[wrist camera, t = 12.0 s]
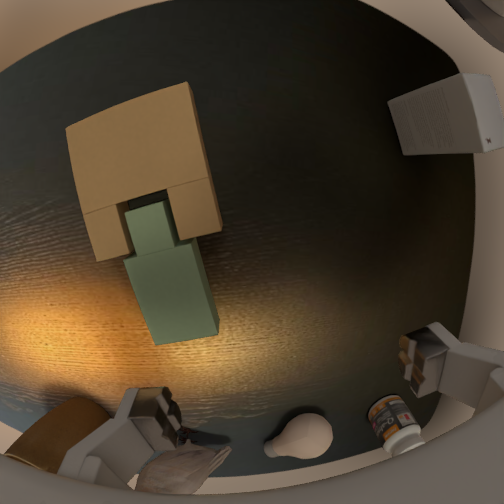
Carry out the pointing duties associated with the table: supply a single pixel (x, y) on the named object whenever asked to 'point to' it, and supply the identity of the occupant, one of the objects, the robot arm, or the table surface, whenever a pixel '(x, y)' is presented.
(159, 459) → the bird
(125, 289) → the table surface
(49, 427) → the plant pot
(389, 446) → the pill bottle
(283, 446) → the light bulb
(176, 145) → the sand pad
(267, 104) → the table surface
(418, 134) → the cosmetic box
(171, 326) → the sage pad
